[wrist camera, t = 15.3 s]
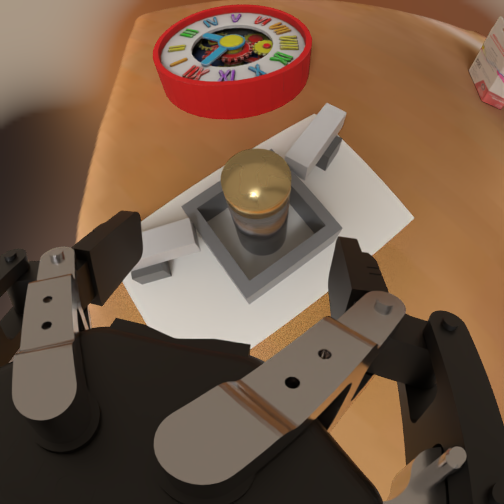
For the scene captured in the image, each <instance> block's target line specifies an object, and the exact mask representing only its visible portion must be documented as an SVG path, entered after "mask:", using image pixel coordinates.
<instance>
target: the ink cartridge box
mask: <svg viewBox="0 0 504 504" xmlns="http://www.w3.org/2000/svg"><path fill="white" fill-rule="evenodd" d="M503 28H504V19H503V18H502V17H499V18H498V20H497V22H496V24H495V25H494V26H493V27H492V29H491V31H490V33H489V35H488V37H487V39H486V40H485V42H484V44H483V46H482V48H481V50H480V51H479V53H478V55H477V57H476V58H475V60H474V62H473V64H472V66H471V67H470V69H469V73H470V75H471V77H472V80H473V82H474V84H475V86H476V89H477V91H478V93H479V96H480V98H481V100H482V101H483V102H485V103H488V104H490V105H492V106H494V107H496V108H498V109H500V110H501V109H502V107H503V106H504V32H503Z"/></svg>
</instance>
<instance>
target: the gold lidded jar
mask: <svg viewBox="0 0 504 504" xmlns="http://www.w3.org/2000/svg"><path fill="white" fill-rule="evenodd" d="M221 187H222V190H223V193H224V196H225V199H226V202H227V205H228V208H229V211H230V214H231V217H232V220H233V223H234V226H235V229H236V231H237V234H238V237H239V240H240V243H241V245H242V246H243V247H244V248H245V249H246V250H247V251H248V252H250V253H252V254H254V255H259V256H265V255H270V254H273V253H274V252H276V251H278V250H279V249H280V248H281V247H282V245H283V244H284V242H285V239H286V234H287V223H288V213H289V202H290V190H291V171H290V168H289V166H288V164H287V163H286V161H285V160H284V159H283V158H282V157H281V156H280V155H278V154H277V153H275V152H273V151H270V150H266V149H259V148H255V149H248V150H244V151H241V152H239V153H237V154H236V155H234V156H233V157H232V158H230V159H229V161H228V162H227V163H226V164H225V166H224V168H223V170H222V173H221Z"/></svg>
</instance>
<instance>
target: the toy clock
mask: <svg viewBox="0 0 504 504" xmlns="http://www.w3.org/2000/svg"><path fill="white" fill-rule="evenodd" d="M311 46H312V37H311V35H310V32H309V30H308V29H307V27H306V26H305V25H304V24H303V23H302V22H301V21H300V20H299V19H297V18H295V17H294V16H292V15H290V14H288V13H286V12H283V11H281V10H277V9H274V8H270V7H265V6H259V5H227V6H221V7H215V8H211V9H207V10H203V11H200V12H198V13H195V14H192V15H190V16H188V17H186V18H184V19H182V20H180V21H178V22H177V23H175V24H174V25H172V26H171V27H170V28H169V29H167V30H166V31H165V32H164V33H163V34H162V35H161V36H160V38H159V39H158V41H157V42H156V44H155V47H154V50H153V60H154V63H155V66H156V69H157V71H158V74H159V77H160V80H161V82H162V85H163V88H164V90H165V93H166V95H167V97H168V98H169V100H170V101H171V102H172V103H173V104H174V105H176V106H177V107H178V108H180V109H182V110H184V111H186V112H187V113H190V114H193V115H197V116H200V117H206V118H212V119H238V118H246V117H252V116H257V115H260V114H264V113H267V112H270V111H273V110H275V109H277V108H279V107H281V106H283V105H285V104H286V103H288V102H290V101H291V100H293V99H294V98H295V97H296V96H297V95H298V94H299V93H300V92H301V91H302V89H303V88H304V86H305V85H306V82H307V79H308V74H309V65H310V56H311Z"/></svg>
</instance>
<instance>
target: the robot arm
mask: <svg viewBox="0 0 504 504" xmlns="http://www.w3.org/2000/svg"><path fill="white" fill-rule="evenodd" d="M142 254H143V240H142V230H141V219H140V215H139V213H138V212H131V211H120V212H119V213H117V214H116V215H115V216H113V217H112V218H111V219H109V220H108V221H107V222H105V223H103V224H101V225H99V226H98V227H96V228H95V229H94V230H93V231H92V232H90V233H89V234H88V235H87V236H85V237H84V238H83V239H81V240H80V241H79V242H78V243H76V244H75V245H74V246H73V247H72V248H70V247H57V248H54V249H51V250H49V251H47V252H46V253H45V254H43V255H42V256H41V259H40V261H28V257H27V254H26V251H25V250H23V249H14V250H10V251H8V252H6V253H4V254H3V255H1V256H0V297H1V296H2V295H3V294H4V293H5V292H6V291H7V293H8V295H9V298H10V300H11V303H12V305H13V307H12V308H11V309H10V310H9V312H8V313H7V314H6V315H5V316H4V317H3V319H2V320H1V321H0V504H504V425H503V421H502V418H501V415H500V411H499V408H498V405H497V402H496V399H495V396H494V393H493V390H492V388H491V385H490V382H489V379H488V377H487V374H486V371H485V369H484V366H483V364H482V361H481V359H480V356H479V354H478V352H477V349H476V347H475V345H474V342H473V340H472V338H471V336H470V333H469V331H468V329H467V327H466V325H465V323H464V322H463V321H462V320H461V319H460V318H459V317H457V316H456V315H454V314H452V313H450V312H447V311H435V312H433V313H432V314H431V315H430V317H429V320H428V321H424V320H421V319H418V318H415V317H412V316H409V315H407V314H405V312H406V308H405V305H404V304H403V302H402V301H401V300H400V299H399V298H397V297H396V296H394V295H392V294H390V293H389V292H388V289H387V287H386V284H385V282H384V279H383V276H382V274H381V271H380V269H379V266H378V264H377V261H376V260H375V259H374V258H373V257H372V256H371V255H370V254H369V253H366V252H362V251H361V248H360V245H359V243H358V240H357V239H355V238H348V237H341V236H338V237H337V240H336V244H335V249H334V253H333V258H332V262H331V267H330V271H329V277H328V292H329V301H330V310H331V317H330V316H326V317H324V318H323V319H321V320H320V321H319V322H318V323H316V324H315V325H314V326H312V327H311V328H310V329H309V330H307V331H306V332H305V333H304V334H302V335H301V336H300V337H298V338H297V339H296V340H294V341H293V342H292V343H290V344H289V345H288V346H286V347H285V348H284V349H282V350H281V351H280V352H278V353H277V354H276V355H274V356H273V357H272V358H270V359H269V360H267V361H266V362H264V361H262V360H260V359H258V358H255V357H253V356H250V346H251V344H245V343H238V342H232V341H226V340H220V339H178V338H173V337H171V336H169V335H166V334H164V333H162V332H160V331H157V330H155V329H153V328H151V327H149V326H147V325H144V324H139V323H135V322H131V321H127V320H123V319H118V318H116V319H115V320H114V322H113V323H112V324H111V326H110V327H97V328H92V324H91V317H90V311H89V308H88V305H89V304H90V303H91V304H95V305H99V306H103V305H104V303H105V302H106V301H107V300H108V298H109V297H110V296H111V295H112V293H113V292H114V291H115V290H116V288H117V287H118V286H119V285H120V283H121V282H122V281H123V280H124V279H125V277H126V276H127V275H128V274H129V273H130V271H131V270H132V269H133V268H134V267H135V266H136V264H137V263H138V262H139V261H140V259H141V257H142ZM19 348H20V351H19V352H18V353H16V352H17V350H18V349H19ZM15 353H16V354H15ZM13 356H14V360H13V362H11V363H9V361H10V360H11V359H12V357H13ZM375 375H378V376H381V377H384V378H387V379H391V380H394V381H397V385H398V391H399V399H400V406H401V414H402V423H403V433H404V443H405V456H406V466H405V467H404V468H403V469H402V470H401V471H399V472H398V473H397V474H396V476H395V477H394V479H393V481H392V484H391V491H390V494H389V497H388V499H387V501H384V502H383V501H382V498H381V496H380V494H379V492H378V490H377V489H376V487H375V486H374V485H373V484H372V482H371V481H370V480H369V479H368V478H367V477H366V476H365V475H364V473H363V472H362V471H361V470H360V469H359V468H358V467H357V465H356V464H355V463H354V462H353V461H352V460H351V458H350V457H349V456H348V455H347V454H346V453H345V451H344V450H343V449H342V448H341V447H340V445H339V444H338V443H337V442H336V441H335V440H334V438H333V437H332V436H331V435H330V434H329V433H330V432H331V430H332V429H333V428H334V427H335V426H336V424H337V423H338V422H339V420H340V419H341V417H342V416H343V415H344V413H345V412H346V411H347V409H348V408H349V407H350V406H351V405H352V404H353V402H354V401H355V400H356V399H357V398H358V396H359V395H360V394H361V393H362V392H363V390H364V389H365V388H366V387H367V385H368V384H369V383H370V382H371V380H372V379H373V378H374V377H375Z"/></svg>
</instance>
